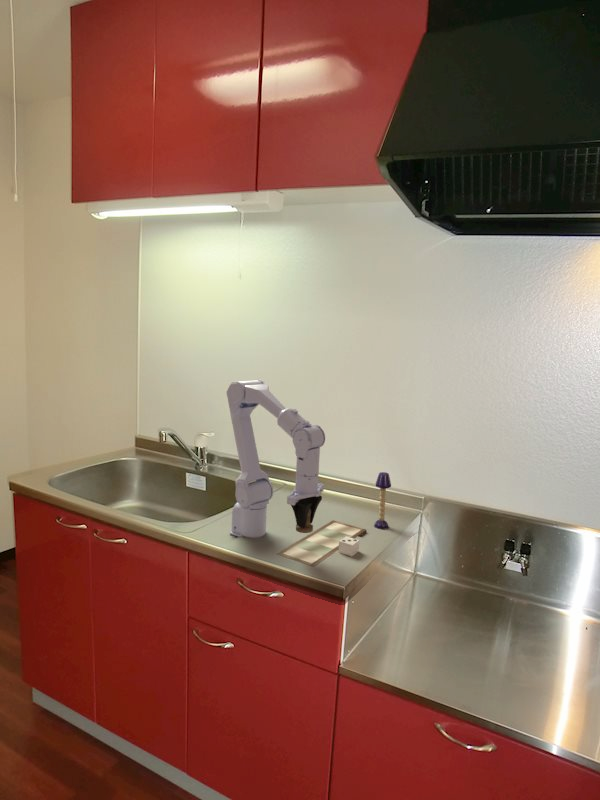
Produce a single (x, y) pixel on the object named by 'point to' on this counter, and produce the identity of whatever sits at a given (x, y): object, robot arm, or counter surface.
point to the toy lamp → (382, 498)
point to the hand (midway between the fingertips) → (304, 524)
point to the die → (348, 546)
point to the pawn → (308, 526)
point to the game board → (320, 543)
